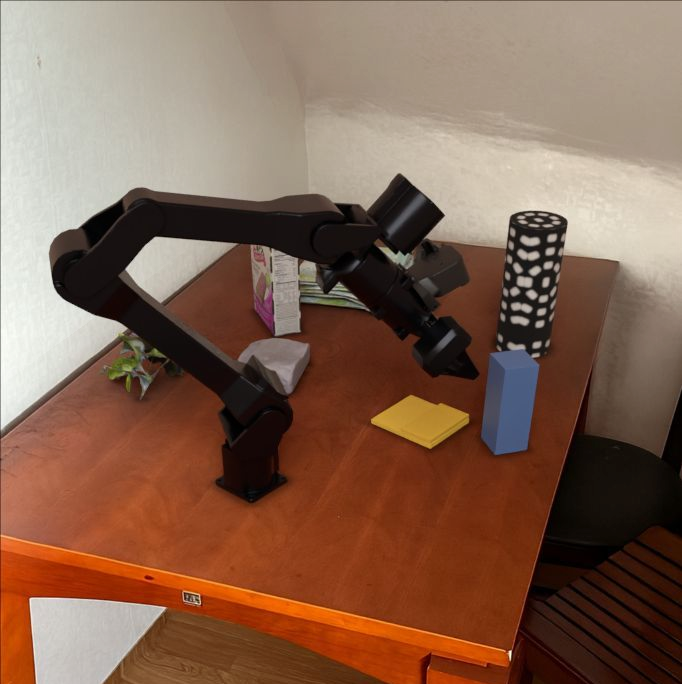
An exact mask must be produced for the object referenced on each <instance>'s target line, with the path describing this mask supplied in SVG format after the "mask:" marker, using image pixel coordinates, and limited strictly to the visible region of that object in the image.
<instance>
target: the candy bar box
mask: <svg viewBox="0 0 682 684" xmlns="http://www.w3.org/2000/svg"><path fill="white" fill-rule="evenodd" d="M249 247H250V259H251V277H252V292H253V295H252V296H253V309H254V311H255V312H256V314H257V315H258V316H259V318H260V320H262V322H263V323H264V325H265V326H266V327H267V328H268V330H269V331H270V332H271V334H272V335H273V337H283V336H288V335H293V334H300V333H302V311H301V310H302V308H301V305H302V303H301V301H300V265H301V263H300V259H298V258H294V257H292V256H289V255H287V254H284V253H282V252H280V251H277V250H275V249H272V248H269V247H265V246H260V245H250V246H249Z"/></svg>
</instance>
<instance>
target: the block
mask: <svg viewBox="0 0 682 684" xmlns="http://www.w3.org/2000/svg"><path fill="white" fill-rule="evenodd" d="M539 370H540V364H539V363H538V362H537V361H536V359H534V358H532V357H531V356H530V355H529V354H528V353H527V352H526V351H525V350H524V349H519V350H512V351H504V352H501V351H498V352H490V354H489V361H488V369H487V378H486V388H485V396H484V404H483V415H482V422H481V423H482V424H481V433H480V439H481V440H482V441H483V443H484V444H485V445H486V446H487V447H488V448H489V450H490V451H491V452H492V454H493V455H494V456H498V455H505V454H510V453H516V452H518V453H519V452H525V451H527V450H528V445H529V437H530V433H531V425H532V419H533V413H534V406H535V398H536V391H537V386H538V385H537V384H538V379H539V378H538V377H539Z"/></svg>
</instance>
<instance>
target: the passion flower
mask: <svg viewBox="0 0 682 684" xmlns="http://www.w3.org/2000/svg"><path fill="white" fill-rule="evenodd" d="M131 332H132V331H131ZM118 337H119V339H120V341H122V343H123V345H122V346H121V349H120V355H124V354H125V353H130V352H134V353H131V354H130V355H129V356H122V357H117V358H115V360H114V361H113V363H111V366H110V364H109V363H108V362H107V363H106V362H105V363H103V364H104V365H103V367H102V368H101V370H100V374H101V376H105V375H106V376H107V378H108V379H109V380H110V381H114V380H116V379H118V380H121V379H122V377H124V376H126V381H125V388H126V391H127V392H128V393H129V394H130V393H131V388H132V382H133V380H134V379H135V378H136V377H138V378H139V383H140V386H141V395H140V397H139V400H140V401H141V400H142V399H143V397H144V395H145V394H146V391H147V390H148V388H149V387H150V385H151V384H152V383H154V382H155V377H156V376H157V375H158V374H159V373H160V372H161V370H162V369H164V372H165V374H166V375H168V376H169V377H175V376H176V375H177V376H181V377H185V376H186V373H185V372H186V371H184V370H183V369H182V368H180V367H179V366H178V365H176V364H175V363H174V362H172V361H171V360H170V359H168V358H167V357H165V356H164V355H163V354H161V353H160V352H159V351H157V350H156V349H155V348H153V347H152V346H151V345H149V344H148V343H147V342H145V341H144V340H143V339H141V338H140V337H139V336H137V335H136V334H134V333H133V332H132V333H131V335H126V334H123V333H122V332H121V331H119V332H118ZM134 354H135V355H134ZM146 360H147V361H148V362H149V363H150V364H149V368H148V370H145V369H144V367H143V362H145V361H146ZM159 363H160V364H161V365H160V367H159V368H158V369H157V370H156V371H155V372H154V373H153V374H151V371H152V365H153V364H154V365H155V364H159ZM106 370H107V372H106ZM138 372H141V373H143V374H144V375H143V374H139V373H138Z"/></svg>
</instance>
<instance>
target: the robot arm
mask: <svg viewBox="0 0 682 684" xmlns="http://www.w3.org/2000/svg"><path fill="white" fill-rule="evenodd" d="M445 217H446V214H445V213H444V212H443V211H442V210H441V209H440V207H438V206H437V204H436V203H435V202H434V201H433V200H432V199H431V198H429V197H428V196H427V195H426V194H425V193H423V192H422V190H420V189H419V188H418V187H416V185H414V184H413V183H412V182H411V181H410V180H409V179H408V178H407V177H406V176H405V175H403V174H402V173H401V172H400V173H399V172H398V173H397V174H396V175H395V176H394V177H393V179H391V181H390V182H389V184H388V185H387V187H386V189H385V190H383V192H382V193H381V194H380V195H379V196H378V197H377V199H375V201H374V202H373V203H372V204H371V205H370V207H368V209H367V210H366V209H365V208H364V207H363V206H362V205H361V204H359V203H348V202H347V203H346V202H333V201H332V200H331V199H330V198H329V197H327V195H323V194H320V193H304V194H291V195H284V196H281V197H277V198H273V199H271V200H259V201H258V200H248V199H239V198H230V197H229V198H228V197H219V196H218V197H217V196H208V195H197V194H191V193H189V194H188V193H179V192H169V191H158V190H153V189H150V188H148V187H143V186H140V187H134V188H132V189H129V190H128V192H127V193H125V194H124V195H123V196H122V197H121V198H120V199H118V200H117V201H116V202H114V203H113V204H111V205H109V206H107V207H106V208H104V209H102V210H100V211H99V212H96V213H95V214H93V215H91V217H89V218H88V219H87V220H85V221H84V222H83V223H82V224H81V225H80V226H79V227H77V228H71V229H69V228H68V229H67V230H64V231H61V232H60V233H59V234H57V235H56V236H55V237H54V238H53V240H52V241H51V244H50V246H49V251H48V259H49V267H50V275H51V281H52V285H53V289H54V290H55V292H56V294H57V295H58V296H59V297H60V298H61V299H62V300H63V301H65V302H67V303H68V304H71V305H73V306H75V307H76V308H79V309H81V310H83V311H85V312H87V313H89V314H91V315H93V316H96V317H100V318H103V319H107V320H111V321H115V322H117V323H119V324H120V325H122V326H124V327H125V328H126V329H127V330H129V331H130V332H133V333H134V335H135V334H136V335H137V336H139V337H140V338H141V339H143V340H144V341H145V342H147V343H148V344H149V345H151V346H152V347H153V348H155V349H156V350H157V351H159V352H160V353H161V354H163V355H164V356H165V357H167V358H168V359H170V360H171V361H172V362H174V363H175V364H176V365H178V366H179V367H180V368H182V369H183V371H184V372H186V373H187V374H188V375H189V376H191V377H192V378H194V379H195V380H197V381H198V382H199V383H200V384H201V385H203V386H204V387H206V388H207V389H209V390H210V391H211V392H213V393H214V394H216V396H217V397H218V398H219V399H220V400H221V402H222V403H223V404H224V405H223V406H222V407H221V408H220V409H219V410H218V412H217V416H218V419H219V422H220V424H221V426H222V429H223V432H224V435H225V440H224V442H225V443H223V444H221V445H220V447H221V460H222V472H223V475H221V476H219V477H218V478H216V479H215V485H216V486H218V487H220V488H222V489H223V490H226V491H227V492H229V493H230V494H232V495H234V496H236V497H239V498H240V499H242V500H244V501H246V502H247V503H249V504H250V503H251V504H252V503H255V502H257V501H258V500H261V498H263V497H265V496H266V495H268V494H269V493H271V492H273V491H274V490H276V489H278V488H279V487H281V486H282V485H284V484H286V483H287V481H288V478H287V476H286V475H283V474H282V473H280V472H279V471H280V458H279V457H280V455H279V453H280V452H279V447H280V445H281V442H282V440H283V436H284V434H286V433H287V432H288V431H289V429H290V428H291V427H292V424H293V423H294V422H293V421H294V410H293V408H292V405H291V403H290V402H289V400H288V399H290V397H289V394H287V392H286V390H285V388H284V386H283V384H282V382H281V380H280V378H279V377H278V375H277V373H276V371H274V370H271V369H268V368H267V367H265V366H264V365H263V364H262V363H261V362H260V361H259V360H258V359H257V357H255V356H254V355H252V356H251V357H250V359H249V360H248V362H247V363H243V362H239V361H238V360H235V359H234V358H232V357H230V356H229V355H227V354H226V352H224V351H223V350H221V349H220V348H218V347H217V346H216V345H215V344H214V343H212V342H211V341H210V340H208V339H207V338H206V337H205V336H203V335H202V334H201V333H199V331H197V330H196V329H195V328H193V327H192V326H190V325H189V324H188V323H187V322H186V321H184V320H182V318H181V317H179V316H178V315H177V314H175V313H174V312H173V311H172V310H170V309H169V308H167V307H166V306H165V305H163V304H162V303H161V302H160V301H158V299H156V298H155V297H153V295H151V294H150V293H148V292H147V291H146V290H144V289H143V288H142V287H141V286H139V284H138V283H137V282H136V281H135V280H134V278H133V277H132V276H131V274H130V273H129V272H128V270H127V268H128V267H129V266H130V264H131V263H132V262H133V261H134V260H135V258H136V257H137V256H139V253H140V252H141V251H142V250H143V249H144V247H145V246H146V245H147V244H149V243H150V242H151V241H153V239H155V238H166V239H167V238H168V239H178V240H188V241H189V240H190V241H202V242H214V243H225V244H227V243H228V244H235V245H236V244H238V245H260V246H265V247H269V248H272V249H275V250H277V251H280V252H282V253H284V254H287V255H289V256H292V257H294V258H298V259H299V260H302V261H304V260H306V261H309V262H313V263H316V264H315V267H316V278H315V281H316V283H317V284H318V286H319V287H320V289H321V290H322V291H323V293H324V294H328V293H329V292H330V291H331V290H332V289H333V288H334V287H335V286H336V285H337V283H338V282H339V283H340V284H341V285H343V286H344V287H345V288H346V289H347V290H348V291H349V292H350V293H352V294H353V295H354V296H355V297H356V298H357V299H358V300H359V301H361V302H362V303H363V304H364V305H365V306H366V307H367V308H368V309H369V310H370V312H369V313H371V315H372V316H373V317H374V318H376V320H378V321H379V322H380V321H382V322H383V323H384V324H385V325H386V326H387V327H388V328H389V329H391V331H392V332H393V333H394V335H395V336H396V337H397V338H398V339H399V340H400V341H401V342H404V341H405V340H406V339H407V337H409V336H410V335H412V336H414V337H417V338H418V339H417V340H416V342H415V343H414V344H413V345H412V351H411V356H412V358H413V359H414V360H415V362H416V363H417V364H418V366H419V367H420V368H421V369H422V371H423V372H425V373H426V374H427V375H428V376H429V377H431V378H432V379H435V378H439V376H447V377H454V378H460V379H463V380H464V379H465V380H470V381H475V380H476V379H477V378H479V376H480V375H481V373H480V371H479V369H478V368H477V366H476V365H475V362H474V361H473V360H472V358H471V356H470V355H469V353H468V352H467V350H466V349H467V348H468V347H469V346H470V345H471V344H472V340H473V336H472V335H471V334H470V333H469V332H468V331H467V330H466V329H465V328H464V327H463V326H462V325H461V324H460V323H459V322H458V321H457V320H456V319H455V318H454V317H453V316H452V315H445V316H444V315H443V316H440V317H439V318H438V317H437V316H436V315H435V314H434V312H436V310H437V309H438V308H439V307H440V306H441V305H442V304H441V303H440V301H439V300H438V298H442V297H444V296H446V295H447V294H449V293H450V292H452V291H454V290H456V289H458V288H459V287H464V286H466V285H468V284H469V283H470V282H471V276H470V272H469V270H468V268H467V265H466V263H465V260H464V258H463V255H462V254H461V253H460V252H459V251H458V250H457V249H456V248H454V246H452V245H451V244H446V243H445V242H442V243H441V244H440V247H439V245H438V244H436V243H435V242H433V241H432V240H431V239H430V238H428V237H427V236H428V235H429V234H431V232H432V231H433V229H435V227H436V226H438V224H439V223H440V222H441V221H442V220H443V219H444V218H445ZM377 240H379V241H380V242H381V243H383V245H384V246H386V248H389V249H390V250H391V251H392V252H393V253H394V254H395V255H397V254H398V253H399V251H400V252H401V253H402V254H403V255H404V256H406V255H407V254H408V253H409V254H410V253H411V252H412V251H415V249H416V251H415V258H414V260H413V261H414V263H413V265H412V266H411V267H409V268H408V269H406V268H405V267H404V266H403V265H402V264H401V263H398V264H397V263H396V262H394V261H393V260H392V259H390V258H389V257H388V256H387V255H386V254H385V253H384V252H383V251H382V250H381V249H380V248H379V247H380V246H378V244H376V243H375V242H376V241H377Z"/></svg>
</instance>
